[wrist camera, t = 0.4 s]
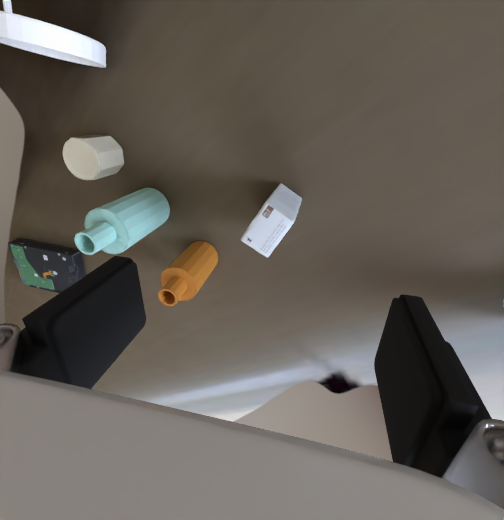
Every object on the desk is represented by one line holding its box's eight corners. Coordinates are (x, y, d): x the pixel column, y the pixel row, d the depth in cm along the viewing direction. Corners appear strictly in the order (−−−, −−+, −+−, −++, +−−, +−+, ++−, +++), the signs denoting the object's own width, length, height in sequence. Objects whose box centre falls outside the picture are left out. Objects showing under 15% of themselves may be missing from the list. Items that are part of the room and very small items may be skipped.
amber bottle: (186, 238, 51) (145, 276, 39) (218, 243, 50) (185, 283, 38) (188, 267, 54) (150, 310, 42) (218, 271, 53) (188, 317, 41)
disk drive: (82, 248, 58) (18, 237, 60) (71, 254, 55) (5, 242, 57) (91, 291, 63) (32, 279, 65) (82, 298, 60) (21, 286, 62)
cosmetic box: (281, 227, 46) (268, 262, 36) (258, 212, 46) (238, 241, 35) (304, 196, 43) (297, 224, 33) (279, 179, 43) (265, 201, 32)
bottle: (132, 185, 49) (55, 215, 35) (168, 189, 48) (103, 222, 34) (137, 222, 52) (68, 263, 38) (171, 227, 51) (113, 271, 37)
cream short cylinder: (88, 133, 46) (58, 136, 41) (120, 136, 45) (93, 139, 40) (95, 170, 49) (68, 178, 44) (126, 174, 48) (102, 181, 43)
